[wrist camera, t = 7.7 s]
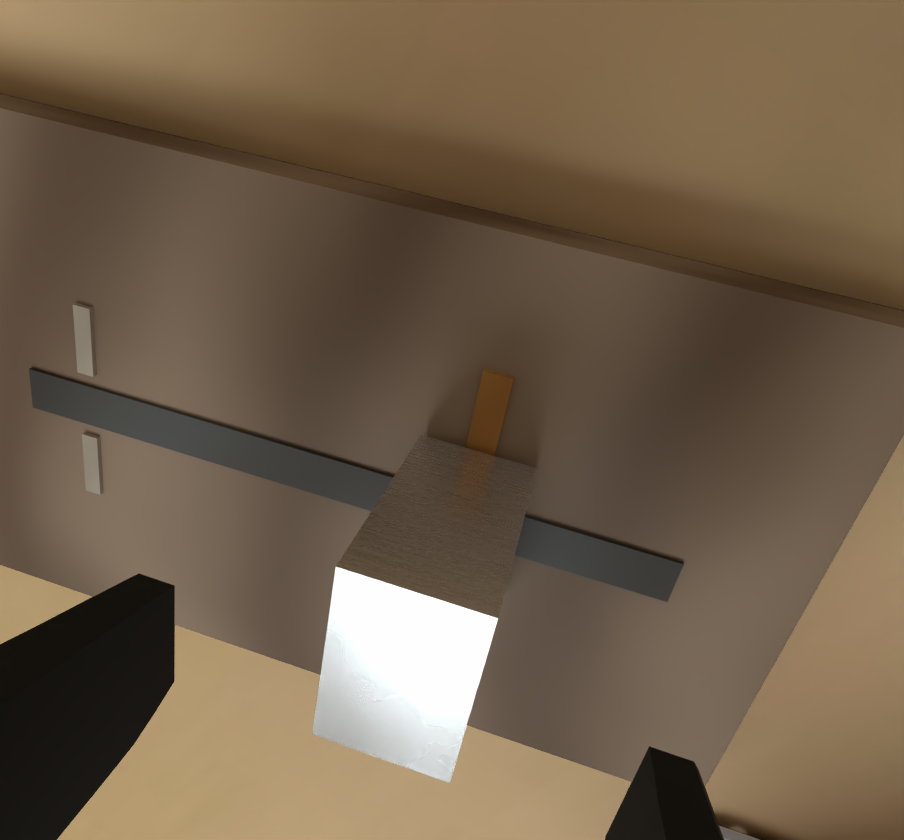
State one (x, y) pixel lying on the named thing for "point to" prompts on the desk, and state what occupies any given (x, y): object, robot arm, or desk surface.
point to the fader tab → (421, 606)
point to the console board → (425, 420)
